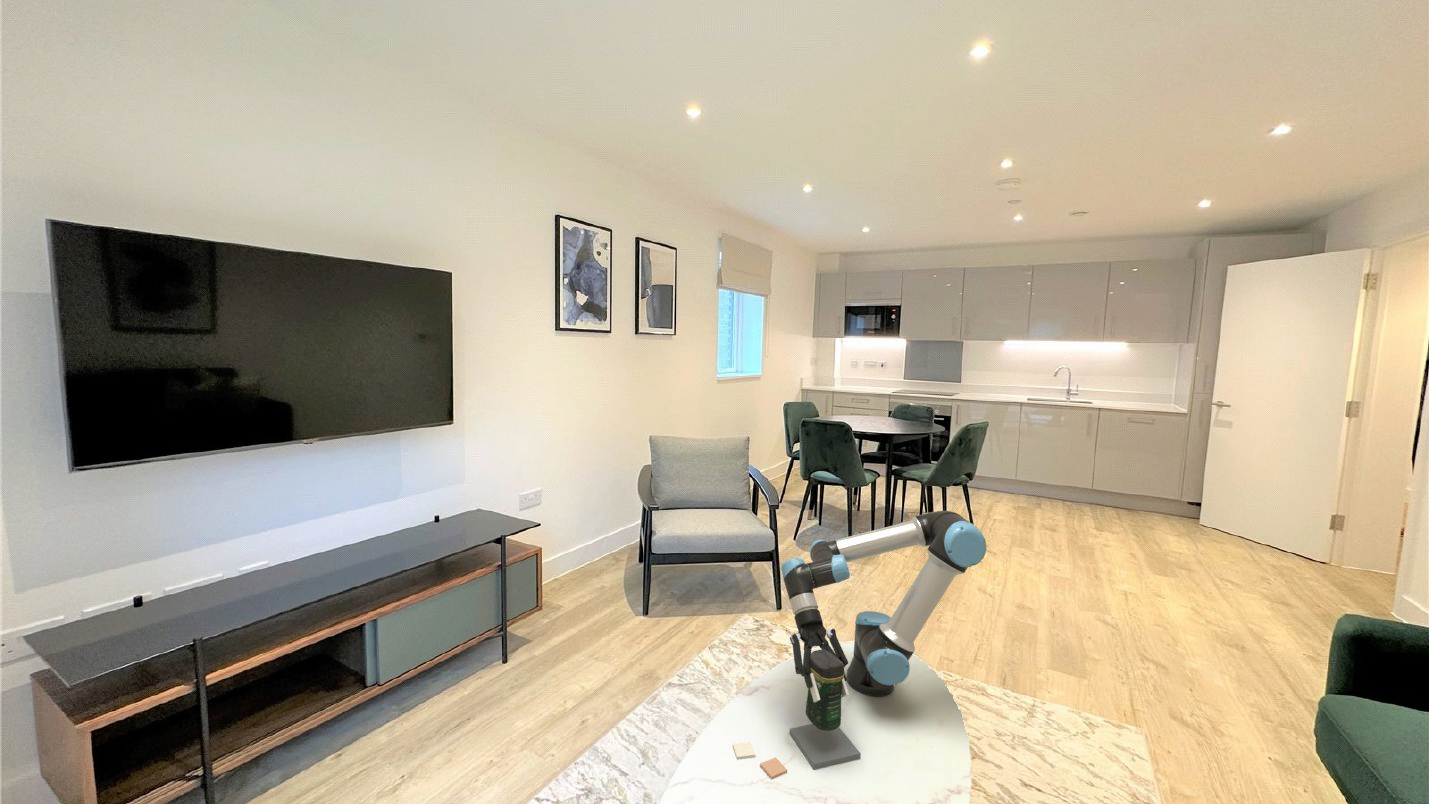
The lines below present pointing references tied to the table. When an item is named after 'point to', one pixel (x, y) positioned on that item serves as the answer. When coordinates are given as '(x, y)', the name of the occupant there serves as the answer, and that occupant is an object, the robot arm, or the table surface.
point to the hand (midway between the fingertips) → (831, 698)
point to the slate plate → (824, 746)
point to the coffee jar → (825, 690)
